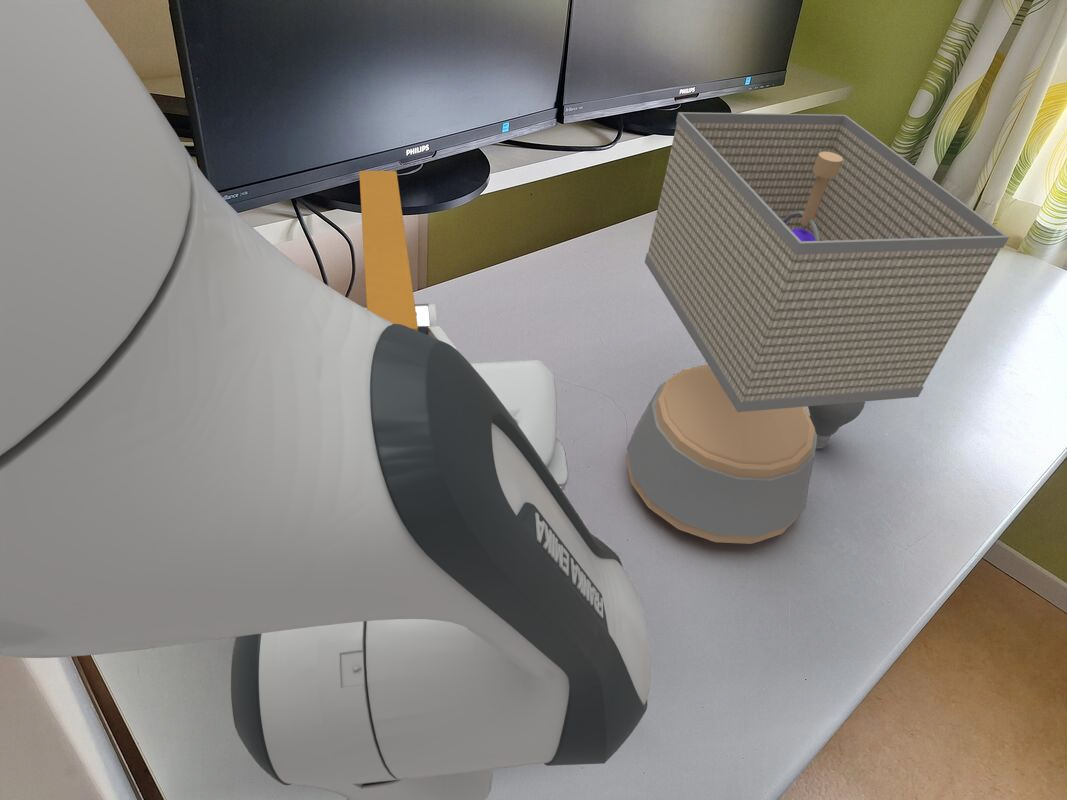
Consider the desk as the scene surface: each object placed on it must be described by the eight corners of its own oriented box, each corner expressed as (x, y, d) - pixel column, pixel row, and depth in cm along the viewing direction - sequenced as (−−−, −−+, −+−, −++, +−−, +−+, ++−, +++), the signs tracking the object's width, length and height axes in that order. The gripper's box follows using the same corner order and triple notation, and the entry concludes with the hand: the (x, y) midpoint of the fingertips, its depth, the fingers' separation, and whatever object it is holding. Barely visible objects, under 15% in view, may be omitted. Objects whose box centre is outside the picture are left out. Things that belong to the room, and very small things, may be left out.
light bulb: (796, 460, 86) (827, 393, 79) (781, 424, 90) (810, 358, 84) (847, 463, 86) (882, 396, 80) (830, 427, 91) (862, 361, 84)
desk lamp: (839, 556, 76) (1034, 224, 52) (661, 581, 71) (783, 230, 47) (747, 411, 91) (863, 104, 67) (596, 423, 87) (663, 100, 63)
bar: (370, 368, 48) (368, 330, 46) (361, 204, 64) (359, 170, 62) (418, 366, 49) (418, 328, 47) (397, 204, 65) (396, 170, 63)
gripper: (584, 492, 45) (554, 281, 49) (215, 525, 41) (216, 291, 45) (561, 512, 51) (536, 322, 55) (237, 542, 46) (236, 334, 51)
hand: (389, 308), depth 50 cm, fingers closed on bar, 3 cm apart
